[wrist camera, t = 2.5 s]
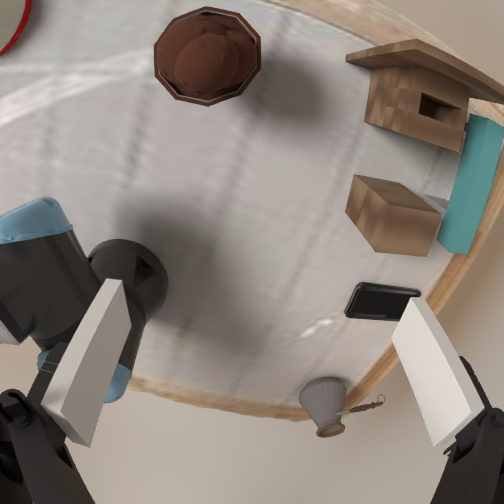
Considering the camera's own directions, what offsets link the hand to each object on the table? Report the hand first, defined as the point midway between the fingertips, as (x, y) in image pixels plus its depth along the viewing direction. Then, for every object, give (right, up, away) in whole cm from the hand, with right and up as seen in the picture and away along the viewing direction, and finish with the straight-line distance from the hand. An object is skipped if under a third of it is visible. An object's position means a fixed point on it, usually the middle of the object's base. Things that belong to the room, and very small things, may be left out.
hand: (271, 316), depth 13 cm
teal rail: (+30, +16, +27) cm, 43 cm away
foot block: (+17, +11, +30) cm, 36 cm away
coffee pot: (+18, -25, +51) cm, 60 cm away
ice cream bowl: (-6, +27, +20) cm, 34 cm away
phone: (+24, -7, +41) cm, 48 cm away
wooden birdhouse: (+19, +24, +23) cm, 38 cm away
